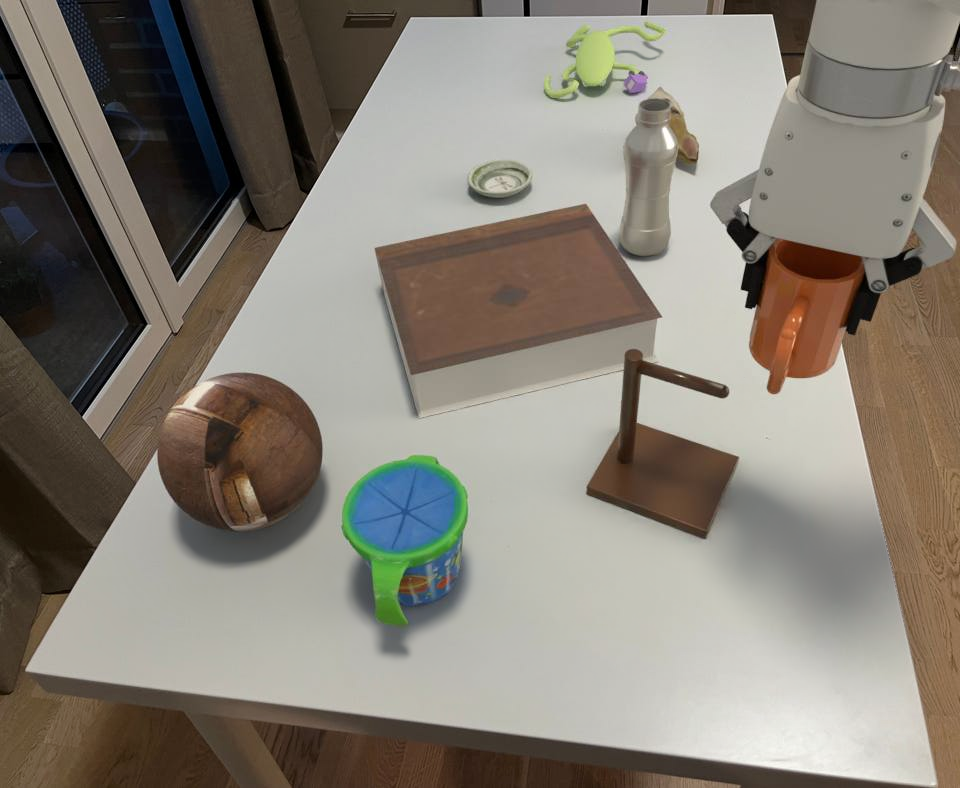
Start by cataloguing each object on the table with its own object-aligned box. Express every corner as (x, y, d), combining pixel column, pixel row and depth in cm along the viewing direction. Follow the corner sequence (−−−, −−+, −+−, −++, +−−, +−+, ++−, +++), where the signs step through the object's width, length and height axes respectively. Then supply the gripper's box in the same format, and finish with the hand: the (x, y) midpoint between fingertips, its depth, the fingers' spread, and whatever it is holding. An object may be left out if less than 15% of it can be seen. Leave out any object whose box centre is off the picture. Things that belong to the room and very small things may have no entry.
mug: (761, 314, 65) (782, 221, 59) (844, 335, 63) (875, 240, 56) (722, 400, 59) (741, 305, 53) (812, 427, 56) (844, 331, 50)
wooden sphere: (223, 439, 87) (175, 336, 77) (353, 449, 85) (323, 343, 74) (163, 555, 77) (99, 454, 66) (310, 569, 74) (268, 467, 64)
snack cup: (396, 495, 80) (380, 427, 73) (497, 515, 77) (490, 447, 70) (333, 634, 70) (306, 571, 62) (447, 663, 67) (432, 600, 60)
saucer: (455, 190, 120) (454, 175, 119) (503, 166, 124) (502, 152, 123) (497, 214, 115) (496, 199, 113) (546, 188, 119) (545, 173, 117)
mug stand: (737, 464, 79) (764, 351, 69) (705, 539, 74) (729, 428, 63) (625, 426, 84) (633, 315, 73) (586, 493, 78) (589, 383, 68)
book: (382, 289, 104) (374, 247, 100) (585, 245, 108) (586, 203, 103) (418, 418, 87) (410, 375, 83) (657, 361, 91) (662, 317, 86)
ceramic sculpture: (696, 75, 122) (706, 126, 112) (690, 126, 128) (699, 179, 119) (625, 78, 123) (629, 129, 113) (623, 129, 130) (626, 181, 120)
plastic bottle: (669, 263, 104) (685, 117, 89) (616, 262, 105) (624, 117, 91) (668, 235, 108) (684, 92, 94) (618, 234, 109) (626, 92, 95)
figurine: (667, 45, 152) (670, 14, 148) (643, 108, 135) (645, 75, 131) (573, 40, 157) (573, 11, 153) (538, 100, 140) (537, 68, 136)
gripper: (1041, 69, 46) (936, 311, 58) (739, 32, 52) (704, 256, 65) (1032, 127, 41) (921, 375, 54) (703, 79, 48) (673, 310, 60)
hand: (803, 308), depth 59 cm, fingers closed on mug, 6 cm apart
